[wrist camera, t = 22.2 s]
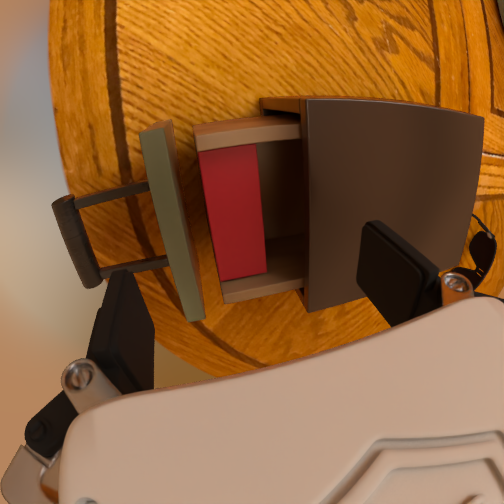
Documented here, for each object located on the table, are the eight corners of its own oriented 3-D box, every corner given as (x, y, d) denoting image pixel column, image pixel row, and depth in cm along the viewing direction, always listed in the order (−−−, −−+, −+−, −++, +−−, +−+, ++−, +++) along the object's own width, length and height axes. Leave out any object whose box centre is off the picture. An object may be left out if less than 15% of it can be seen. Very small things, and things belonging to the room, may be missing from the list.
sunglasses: (445, 288, 35) (464, 307, 31) (401, 258, 31) (423, 279, 27) (482, 230, 31) (504, 245, 27) (445, 187, 28) (473, 200, 23)
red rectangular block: (195, 140, 17) (197, 152, 13) (240, 133, 18) (256, 143, 14) (212, 247, 21) (220, 282, 18) (252, 239, 22) (267, 272, 18)
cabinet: (271, 248, 25) (307, 314, 18) (259, 98, 18) (305, 98, 11) (403, 222, 27) (458, 265, 20) (412, 101, 20) (485, 117, 13)
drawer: (108, 279, 22) (92, 337, 16) (66, 148, 16) (20, 172, 10) (338, 234, 25) (380, 277, 19) (339, 103, 19) (396, 111, 13)
